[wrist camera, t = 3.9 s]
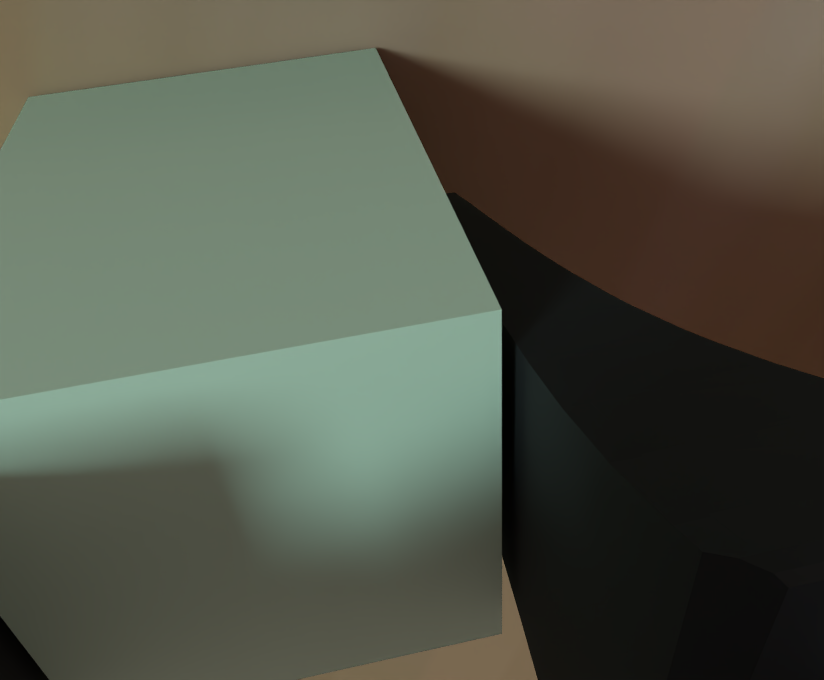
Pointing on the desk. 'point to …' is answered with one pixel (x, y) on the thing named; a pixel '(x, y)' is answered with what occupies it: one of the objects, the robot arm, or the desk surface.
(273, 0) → the desk surface
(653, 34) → the desk surface
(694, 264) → the desk surface
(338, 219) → the block
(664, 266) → the desk surface
